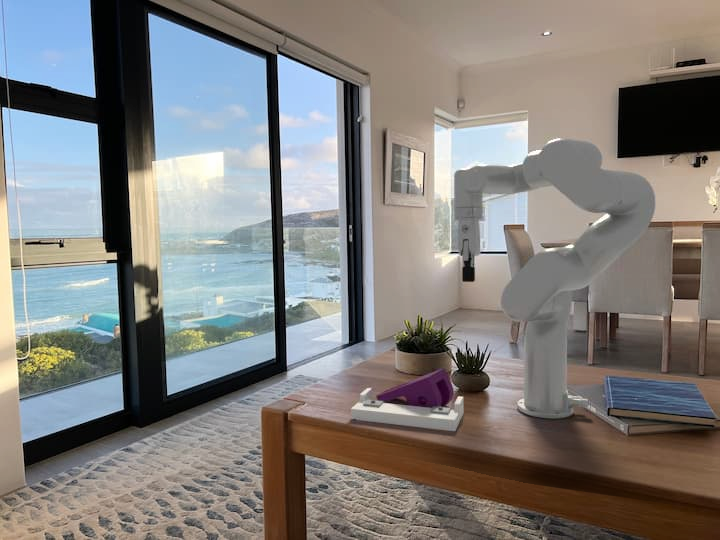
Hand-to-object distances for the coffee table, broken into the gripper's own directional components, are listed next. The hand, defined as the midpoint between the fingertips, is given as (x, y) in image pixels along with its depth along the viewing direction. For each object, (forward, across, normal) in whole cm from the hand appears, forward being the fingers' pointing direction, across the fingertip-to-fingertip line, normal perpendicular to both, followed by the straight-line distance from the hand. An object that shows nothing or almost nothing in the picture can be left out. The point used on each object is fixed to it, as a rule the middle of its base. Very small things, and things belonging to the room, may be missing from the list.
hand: (468, 281), depth 140 cm
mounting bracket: (+30, -22, +11) cm, 38 cm away
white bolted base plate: (+29, -29, +10) cm, 42 cm away
